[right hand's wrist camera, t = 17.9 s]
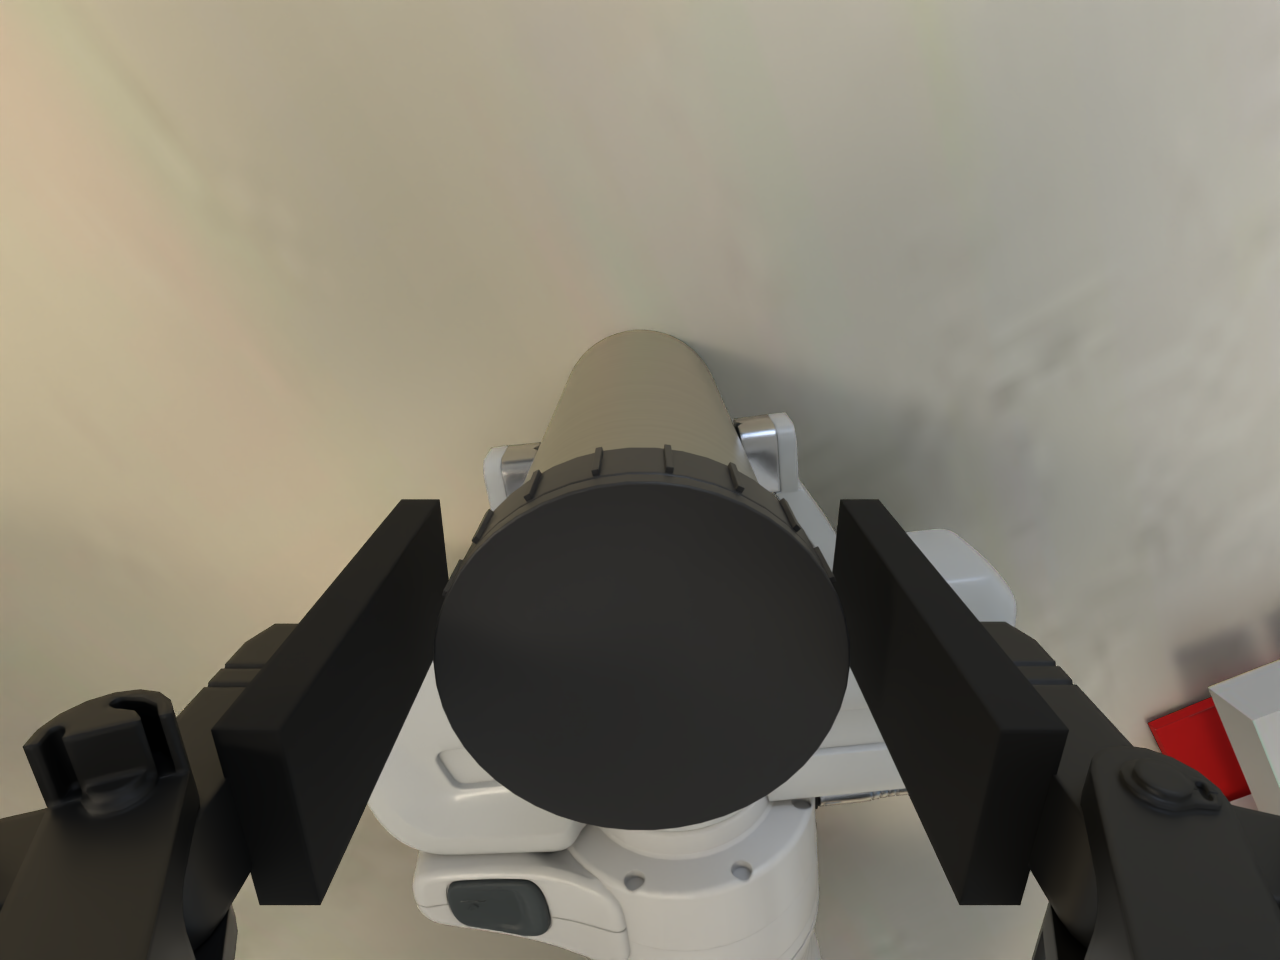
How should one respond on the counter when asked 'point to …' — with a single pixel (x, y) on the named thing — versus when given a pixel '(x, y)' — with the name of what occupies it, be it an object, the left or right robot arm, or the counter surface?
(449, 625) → the lid
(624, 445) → the jar
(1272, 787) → the toy
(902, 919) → the counter surface
